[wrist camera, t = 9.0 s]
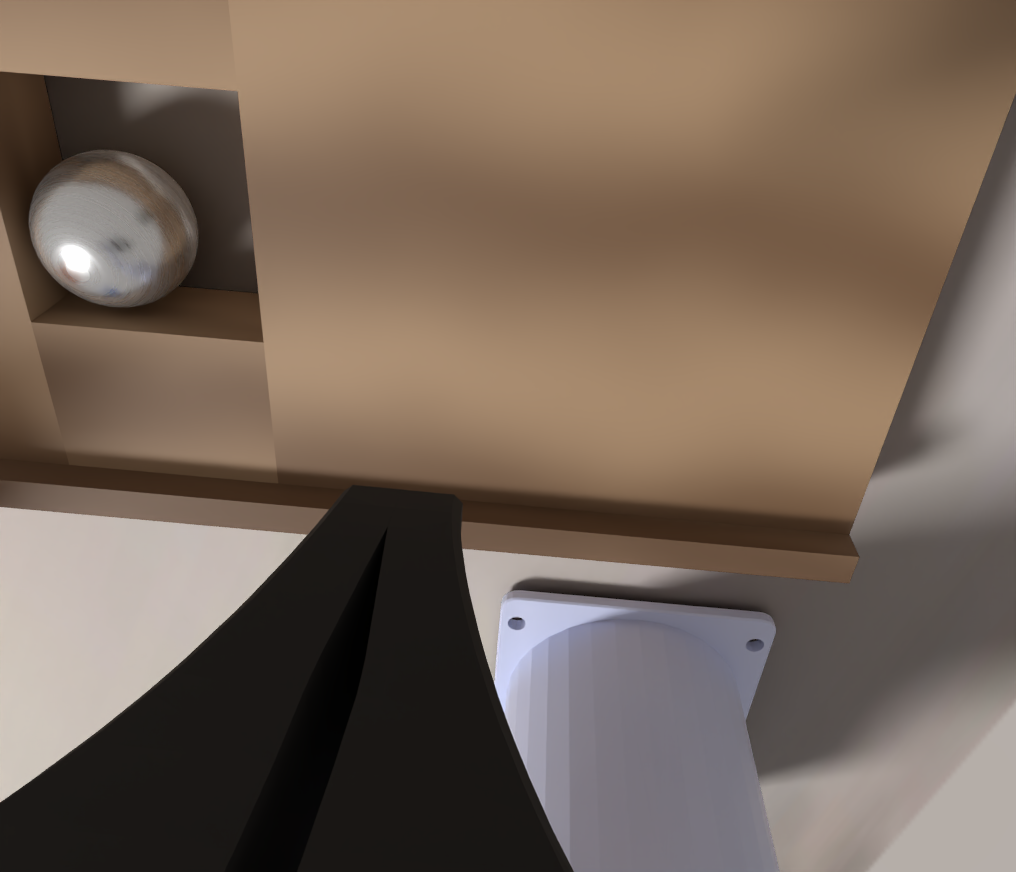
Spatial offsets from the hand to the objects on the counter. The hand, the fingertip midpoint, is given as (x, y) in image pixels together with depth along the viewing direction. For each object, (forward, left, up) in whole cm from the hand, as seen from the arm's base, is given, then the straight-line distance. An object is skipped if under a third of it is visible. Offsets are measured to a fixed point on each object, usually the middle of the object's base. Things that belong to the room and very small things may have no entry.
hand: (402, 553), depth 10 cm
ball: (+1, +7, -9) cm, 11 cm away
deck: (+1, +1, -10) cm, 10 cm away
